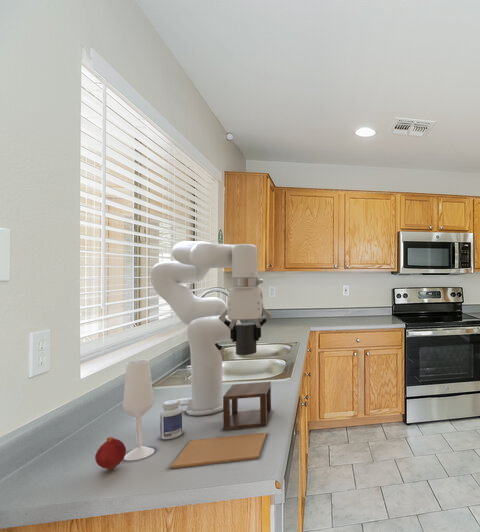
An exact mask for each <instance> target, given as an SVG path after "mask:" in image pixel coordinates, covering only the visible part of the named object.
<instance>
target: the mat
mask: <svg viewBox="0 0 480 532" xmlns="http://www.w3.org/2000/svg"><path fill="white" fill-rule="evenodd" d="M267 435H268V434H267V432H258V433H257V432H256V433H250V434H248V433H247V434H238V435H231V436H230V435H227V436H217V437H210V438H209V437H208V438H199V439H191V440H189V442H188V443H187V444H186V445H185V447H184V448H183V449H182V451H181V452H180V453H179V455H178V456H177V457H176V458H175V460H174V461H173V462H172V464H171V465H170V469H178V468H179V469H180V468H188V467H197V466H204V465H205V466H206V465H213V464H215V465H216V464H222V463H231V462H232V463H233V462H240V461H247V460H249V461H250V460H258V459H259V458H260V454H261V452H262V450H263V446H264V444H265V440H266V437H267Z"/></svg>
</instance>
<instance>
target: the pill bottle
mask: <svg viewBox="0 0 480 532" xmlns="http://www.w3.org/2000/svg"><path fill="white" fill-rule="evenodd" d="M159 416H160V417H159V426H160V427H159V430H160V438H161V439H162V440H171V439H175V438H177V437H179V436H181V435H182V434H183V408H182V407H181V406H180V405H179V399H169V400H166V401H164V402H163V403H162V410H161V411H160V413H159Z"/></svg>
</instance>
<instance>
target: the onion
mask: <svg viewBox="0 0 480 532" xmlns="http://www.w3.org/2000/svg"><path fill="white" fill-rule="evenodd" d="M126 454H127V448H126V445H125V443H124V442H123V441H121V440H120V439H117V438H115V437H113V436H109V437H107V438H106V441H105V442H103V443H102V444H101V445H100V446H99V448H98V449H97V451H96V453H95V456H94V459H95V460H94V461H95V463H96V464H97V465H98V467H100V468H102V469H106V470H107V471H113V470H114V469H115V468H116V467H118V466H119V465H120V464H121V463H122V462H123V460H124V457H125V455H126Z"/></svg>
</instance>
